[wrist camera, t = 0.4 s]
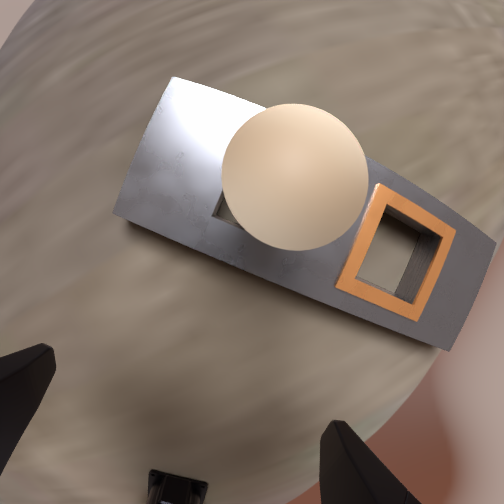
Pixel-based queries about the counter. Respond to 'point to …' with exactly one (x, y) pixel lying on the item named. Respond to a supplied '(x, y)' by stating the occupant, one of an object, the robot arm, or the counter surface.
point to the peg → (294, 177)
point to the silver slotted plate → (306, 261)
